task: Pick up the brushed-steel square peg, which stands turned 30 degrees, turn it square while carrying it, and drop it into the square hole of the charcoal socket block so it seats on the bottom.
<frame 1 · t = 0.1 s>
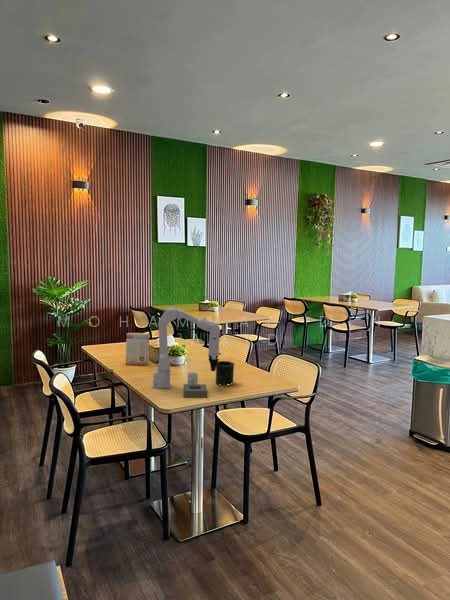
hand: (213, 369, 252), 10 cm above the table, tool pointing down, fingers open, 7 cm apart
steel peg: (192, 387, 250), on the table
mug: (222, 383, 261), on the table
cracker box: (137, 364, 297), on the table
socket block: (194, 393, 238), on the table
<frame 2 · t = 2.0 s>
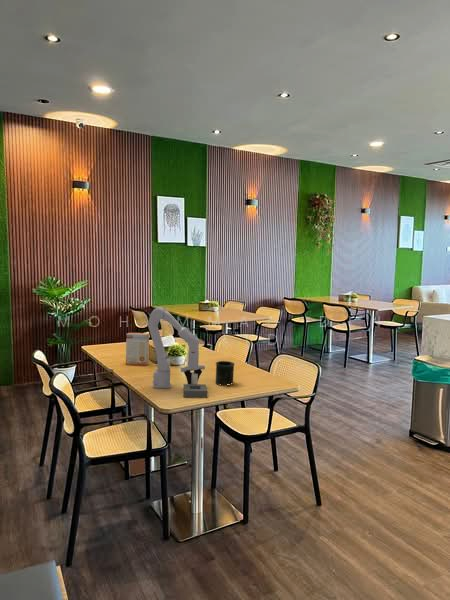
hand: (192, 383, 249), 2 cm above the table, tool pointing down, fingers closed on steel peg, 4 cm apart
steel peg: (192, 387, 250), on the table, touching gripper
everything else where it was.
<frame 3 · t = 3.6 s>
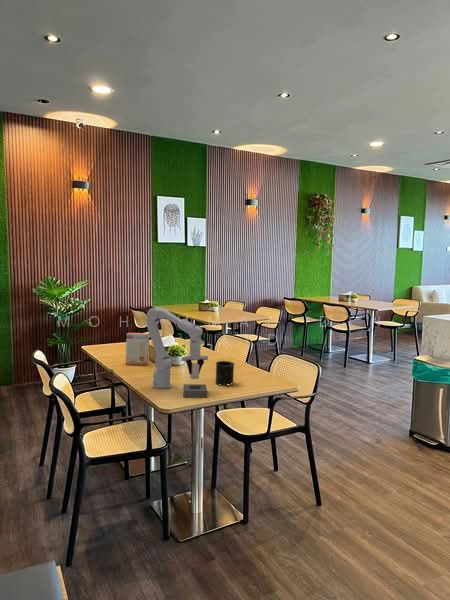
hand: (194, 373, 243), 9 cm above the table, tool pointing down, fingers closed on steel peg, 4 cm apart
steel peg: (194, 378, 243), point 7 cm above the table, touching gripper
everything else where it was.
when the fingers open (4 cm above the table, at t = 5.6 s): steel peg drops 2 cm, resting in socket block.
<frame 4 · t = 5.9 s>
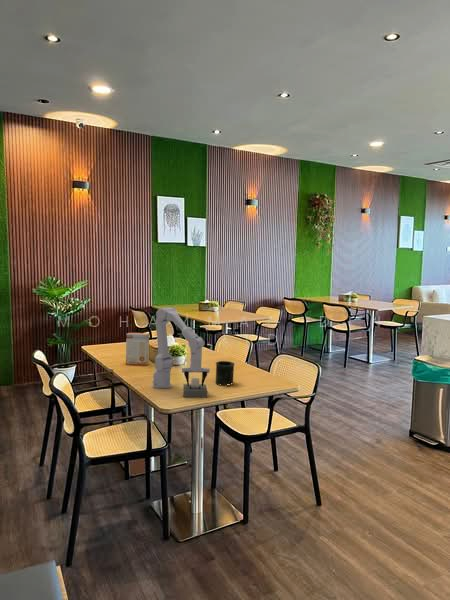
hand: (195, 385, 237), 4 cm above the table, tool pointing down, fingers open, 7 cm apart
steel peg: (194, 393, 238), resting in socket block
everything else where it was.
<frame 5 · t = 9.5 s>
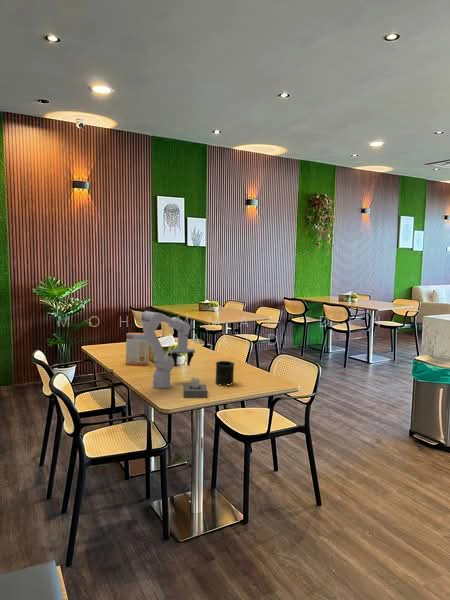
hand: (181, 365, 260), 9 cm above the table, tool pointing down, fingers open, 7 cm apart
nothing on the table moved.
at the end: steel peg 0.2 cm from the socket block (horizontally); steel peg resting in socket block; steel peg tilted 0° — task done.
